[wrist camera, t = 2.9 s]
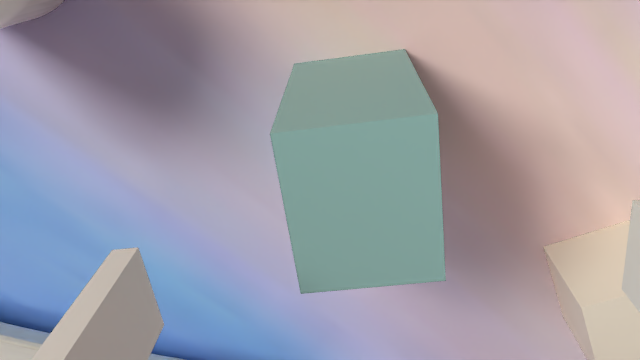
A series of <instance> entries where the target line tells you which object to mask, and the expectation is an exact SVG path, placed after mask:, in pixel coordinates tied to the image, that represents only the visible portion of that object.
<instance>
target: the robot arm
mask: <svg viewBox="0 0 640 360" xmlns="http://www.w3.org/2000/svg"><path fill="white" fill-rule="evenodd" d="M622 290H623V291H624V293H625V294H626V295H627V297H628V298H629V299H630V301H631V302H632V303H633V305H634V306H635V307H636V309H637V310H638V311H639V313H640V200H633V201H632V209H631V217H630V225H629V233H628V241H627V249H626V257H625V265H624V273H623V281H622ZM163 326H164V323H163V320H162V317H161V314H160V311H159V308H158V305H157V302H156V299H155V296H154V293H153V290H152V287H151V284H150V281H149V278H148V275H147V272H146V269H145V266H144V263H143V260H142V257H141V254H140V251H139V248H128V249H117V250H112V251H111V252H110V254H109V255H108V256H107V258H106V259H105V260H104V262H103V263H102V265H101V266H100V267H99V269H98V270H97V271H96V273H95V274H94V275H93V277H92V278H91V279H90V281H89V282H88V283H87V285H86V286H85V287H84V289H83V290H82V292H81V293H80V294H79V296H78V297H77V298H76V300H75V301H74V302H73V304H72V305H71V306H70V308H69V309H68V310H67V312H66V313H65V314H64V316H63V317H62V319H61V320H60V321H59V323H58V324H57V325H56V327H55V328H54V329H53V331H52V332H51V333H50V335H49V336H48V337H47V339H46V340H45V341H44V343H43V344H42V346H41V347H40V348H39V350H38V351H37V352H36V354H35V355H34V356H33V358H32V359H31V360H148V358H149V356H150V354H151V352H152V350H153V348H154V346H155V343H156V341H157V339H158V337H159V335H160V333H161V331H162V328H163Z"/></svg>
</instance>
